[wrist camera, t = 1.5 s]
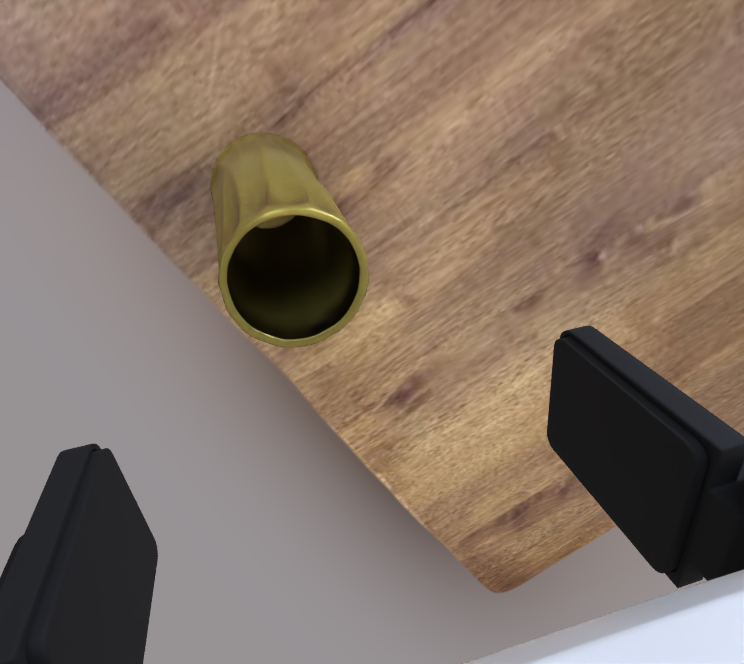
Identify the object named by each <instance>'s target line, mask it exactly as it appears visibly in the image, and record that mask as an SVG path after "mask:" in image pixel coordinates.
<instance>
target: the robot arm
mask: <svg viewBox="0 0 744 664" xmlns="http://www.w3.org/2000/svg"><path fill="white" fill-rule="evenodd" d="M547 436H548V440H549V443H550V445H551V447H552V448H553V450H554V451H555V452H556V453H557V455H558V456H559V457H560V458H561V459H562V460H563V462H564V463H565V464H566V465H567V466H568V468H569V469H570V470H571V471H572V472H573V474H574V475H575V476H576V477H577V478H578V480H579V481H580V482H581V483H582V484H583V485H584V487H585V488H586V489H587V490H588V491H589V493H590V494H591V495H592V496H593V497H594V499H595V500H596V501H597V502H598V503H599V505H600V506H601V507H602V508H603V509H604V510H605V512H606V513H607V514H608V515H609V516H610V518H611V519H612V520H613V521H614V522H615V524H616V525H617V526H618V527H619V528H620V530H621V531H622V532H623V533H624V534H625V535H626V537H627V538H628V539H629V540H630V541H631V542H632V544H633V545H634V546H635V547H636V549H637V550H638V551H639V552H640V553H641V555H642V556H643V557H644V558H645V559H646V561H647V562H648V563H649V564H650V565H651V566H652V567H653V568H654V569H655V570H656V571H657V572H659V573H665V574H666V575H667V576H668V577H669V579H670V580H671V581H672V582H673V583H674V584H675V585H676V587H677V588H679V587H682V586H685V585H688V584H691V583H694V582H697V581H700V580H702V579H703V577H704V578H705V579H706V580H707V581H706V582H703V583H700V584H696V585H693V586H690V587H687V588H684V589H681V590H678V591H675V592H672V593H669V594H666V595H663V596H660V597H657V598H654V599H651V600H648V601H645V602H642V603H639V604H636V605H633V606H630V607H627V608H624V609H622V610H619V611H616V612H613V613H610V614H607V615H604V616H601V617H598V618H595V619H592V620H589V621H586V622H583V623H580V624H577V625H574V626H571V627H569V628H565V629H562V630H559V631H556V632H553V633H550V634H548V635H545V636H542V637H539V638H536V639H533V640H530V641H527V642H524V643H521V644H519V645H516V646H513V647H510V648H507V649H504V650H501V651H498V652H496V653H492V654H489V655H487V656H484V657H481V658H478V659H475V660H472V661H469V662H466V663H463V664H744V436H742V435H741V434H740V433H738V432H737V431H736V430H734V429H733V428H731V427H730V426H729V425H727V424H726V423H725V422H723V421H722V420H720V419H719V418H718V417H716V416H715V415H714V414H712V413H711V412H709V411H708V410H707V409H705V408H704V407H702V406H701V405H700V404H698V403H697V402H696V401H694V400H693V399H691V398H690V397H689V396H687V395H686V394H685V393H683V392H682V391H680V390H679V389H678V388H676V387H675V386H674V385H672V384H671V383H669V382H668V381H667V380H665V379H664V378H663V377H661V376H660V375H658V374H657V373H656V372H654V371H653V370H652V369H650V368H649V367H647V366H646V365H645V364H643V363H642V362H641V361H639V360H638V359H636V358H635V357H634V356H632V355H631V354H630V353H628V352H627V351H625V350H624V349H623V348H621V347H620V346H619V345H617V344H616V343H614V342H613V341H612V340H610V339H609V338H608V337H606V336H605V335H603V334H602V333H601V332H599V331H598V330H597V329H595V328H594V327H592V326H583V327H579V328H575V329H571V330H567V331H564V332H562V334H561V336H560V339H558V340H556V342H555V344H554V353H553V365H552V378H551V390H550V402H549V414H548V427H547ZM157 557H158V553H157V545H156V541H155V539H154V537H153V535H152V533H151V531H150V529H149V527H148V525H147V523H146V521H145V518H144V516H143V514H142V513H141V510H140V508H139V507H138V504H137V502H136V500H135V498H134V496H133V494H132V492H131V490H130V488H129V486H128V484H127V482H126V480H125V478H124V476H123V474H122V472H121V470H120V468H119V466H118V464H117V462H116V460H115V458H114V456H113V454H112V452H111V451H110V450H109V449H108V448H105V449H100V447H99V446H98V445H97V444H89V445H85V446H81V447H77V448H72V449H68V450H64V451H62V452H60V454H59V455H58V457H57V459H56V462H55V464H54V466H53V469H52V471H51V473H50V475H49V478H48V480H47V482H46V485H45V487H44V490H43V492H42V494H41V496H40V499H39V501H38V504H37V506H36V508H35V510H34V513H33V515H32V517H31V520H30V522H29V525H28V527H27V529H26V531H25V534H24V535H23V536H21V537H20V538H19V539H18V541H17V543H16V544H15V546H14V548H13V550H12V552H11V555H10V557H9V559H8V562H7V564H6V566H5V568H4V571H3V573H2V575H1V577H0V664H143V659H144V652H145V645H146V638H147V631H148V624H149V616H150V609H151V602H152V595H153V588H154V581H155V574H156V566H157V559H158V558H157Z"/></svg>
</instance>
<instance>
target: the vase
mask: <svg viewBox="0 0 744 664" xmlns="http://www.w3.org/2000/svg"><path fill="white" fill-rule="evenodd" d="M211 193H212V197H213V200H214V208H215V223H216V233H217V248H218V263H219V278H218V284H219V287H220V290H221V293H222V296H223V300H224V303H225V307H226V309H227V311H228V312H229V314H230V316H231V317H232V318H233V319H234V320H235V322H236V323H237V324H238V325H239V326H240V327H241V328H242V329H243V330H244V331H245V332H246V333H247V334H249V335H250V336H252V337H254V338H256V339H258V340H261V341H264V342H267V343H269V344H272V345H276V346H280V347H302V346H308V345H312V344H315V343H318V342H320V341H323V340H325V339H327V338H328V337H330V336H332V335H333V334H335V333H336V332H338V331H340V330H341V329H342V328H343V327H344V326H346V325H347V324H348V323H349V322H350V321H351V320H352V318H353V317H354V315H355V314H356V312H357V311H358V309H359V307H360V306H361V304H362V301H363V299H364V297H365V295H366V291H367V287H368V281H369V273H368V263H367V257H366V254H365V251H364V248H363V245H362V243H361V241H360V240H359V238H358V236H357V235H356V233H355V231H354V230H353V228H352V227H351V226H350V225H349V223H348V222H347V221H346V220H345V218H344V217H343V215H342V214H341V212H340V210H339V209H338V207H337V205H336V204H335V202H334V201H333V199H332V198H331V196H330V195H329V193H328V192H327V190H326V189H325V188H324V186H323V185H322V184H321V183H320V182H319V181H318V177H317V174H316V171H315V169H314V166H313V164H312V163H311V161H310V159H309V158H308V156H307V155H306V153H305V152H304V151H303V150H302V149H301V148H300V147H299V146H298V145H296V144H295V143H294V142H292V141H290V140H288V139H286V138H284V137H282V136H279V135H276V134H271V133H255V134H250V135H246V136H243V137H241V138H239V139H237V140H235V141H234V142H232V143H231V144H230V145H229V146H227V147H226V148H225V149H224V151H223V152H222V153H221V154H220V156H219V157H218V159H217V161H216V163H215V165H214V168H213V172H212V177H211Z"/></svg>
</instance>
